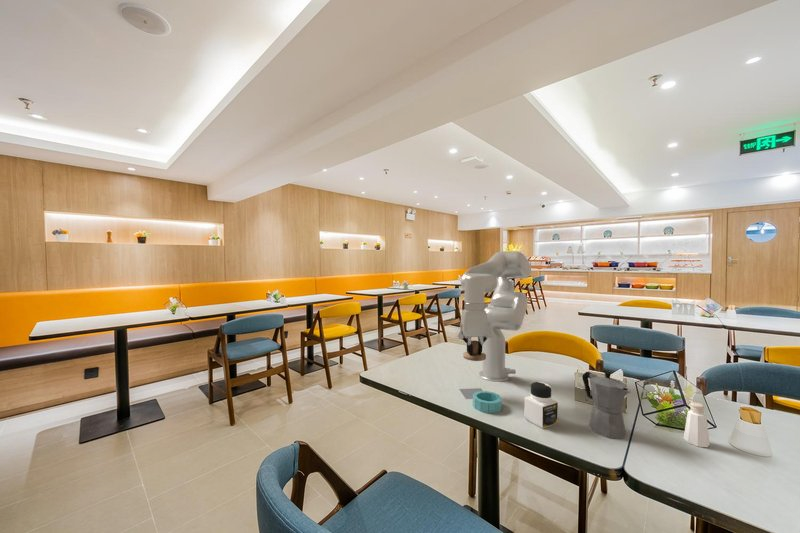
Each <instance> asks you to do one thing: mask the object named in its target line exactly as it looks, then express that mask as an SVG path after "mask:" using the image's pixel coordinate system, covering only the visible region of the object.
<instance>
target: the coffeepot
mask: <svg viewBox="0 0 800 533" xmlns="http://www.w3.org/2000/svg"><path fill="white" fill-rule="evenodd" d="M611 375H612V373H611V372H610V371H604V376H600V375H599V376H598V374H595V373H592V372H589V371H585V372H584V373H583V374H582V376H581V377H582V382H583V386H584V388H585V392H586V397H587V398H589V399H591V400H592V401H593V402H594V405H593V407H592V411H591V415H590V422H589V425H588V426H589V428H590V429H591V430H592V431H593V432H594V433H596V434H598V435H600V436H602V437H605V438H610V439H617V440H619V439H623V438H624V437H625V436H626V435H627V433H626V428H625V427H626V426H625V421H624V417H623V412H622V407H623V405H624V401H625V397H626V396H627V394H630V393H631V390H630V389H629V388H628V387H627V386H628V384H627V383H625V382H623V381H621V380H620V379H616V378H612V377H611Z"/></svg>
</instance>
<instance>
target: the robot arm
mask: <svg viewBox="0 0 800 533" xmlns="http://www.w3.org/2000/svg"><path fill="white" fill-rule="evenodd" d="M531 273H532V267H531V263H530V261H529V260H528V258H527V257H526V255H525V254H523V253H522V252H521V251H517V250H510V251H509V250H508V251H507V250H505V251H504V250H503V251H497V252H495V253H494V254H493V255H492V256H491V257H490V258H489V259H488V261H485V262H483V263H480V264H477V265H475V266H472V267H470V268H469V269H467V270H466V271H465V272H464V273H463V275H462V276H461V279H460V287H461V288H462V290H464V309H462V310H461V315H460V316H461V318H460V323H459V333H458V335H457V338H458V339H460V340H462V341H464V342H465V343H466V352H468V354H469V355H472V345H471V341H472V338H477V341H478V342H479V355H481V352H482V353H485V354H486V359H485V360H482V370H481V371H479V373H478V376H479V377H480V378H481V379H483V380H486V381H489V382H496V383H497V382H500V383H501V382H506V381H508V380H509V379H510V378H509V375H510V374H513V375H515V374H517V371H516V369H515V368H510V367H506V337H505V334H504V333H503V332H502V330H505V331H513V332H515V331H519V330H520V329H521V327H522V325H523V322H524V318H525V315H526V312H527V309H528V297H527V295H526V294H525V293H524V292H521V291H515V286H514V284H513V283H512V282H511V281H510V280H509V279H526V278H528V277H530V275H531ZM508 278H509V279H508ZM492 292H493V294H492V296H491V299H490V306H489V303H486V302H485V293H487V294H488V293H489V294H490V293H492Z"/></svg>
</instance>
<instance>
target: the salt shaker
mask: <svg viewBox="0 0 800 533" xmlns="http://www.w3.org/2000/svg"><path fill="white" fill-rule="evenodd" d="M689 404H690V409H689V410H688V411H687V414H686V420H685V426H684V434H683V440H684V441H685V442H686V443H688V444H689V445H692V444H693V446H695V447H697V446H699V447H698V448H703V447H707V448H709V447H710V446H711V442H710V436H709V434H710V433H709V428H708V420H707V414H705V413H704V408H705V406H704V405H703V404H702V403H699V402H693V401H692V402H690V403H689ZM709 445H710V446H709ZM708 446H709V447H708Z"/></svg>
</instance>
